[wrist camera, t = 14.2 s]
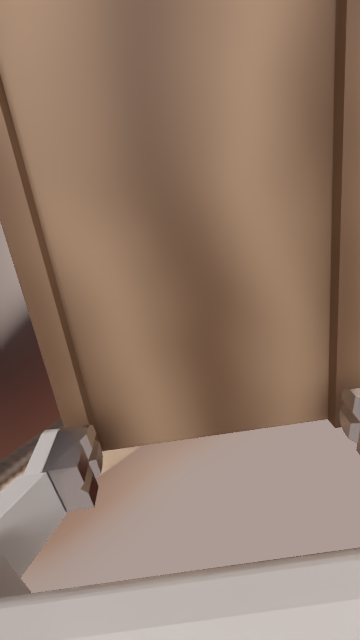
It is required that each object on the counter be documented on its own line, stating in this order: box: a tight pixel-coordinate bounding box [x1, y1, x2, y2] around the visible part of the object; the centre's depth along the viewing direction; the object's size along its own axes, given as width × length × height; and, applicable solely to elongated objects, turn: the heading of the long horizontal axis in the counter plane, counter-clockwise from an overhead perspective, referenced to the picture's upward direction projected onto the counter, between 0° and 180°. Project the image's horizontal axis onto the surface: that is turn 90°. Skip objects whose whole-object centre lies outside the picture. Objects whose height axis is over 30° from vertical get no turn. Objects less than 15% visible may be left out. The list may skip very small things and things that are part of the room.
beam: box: [0, 0, 360, 451], centre depth 10 cm, size 12×30×3 cm, turn 7°
